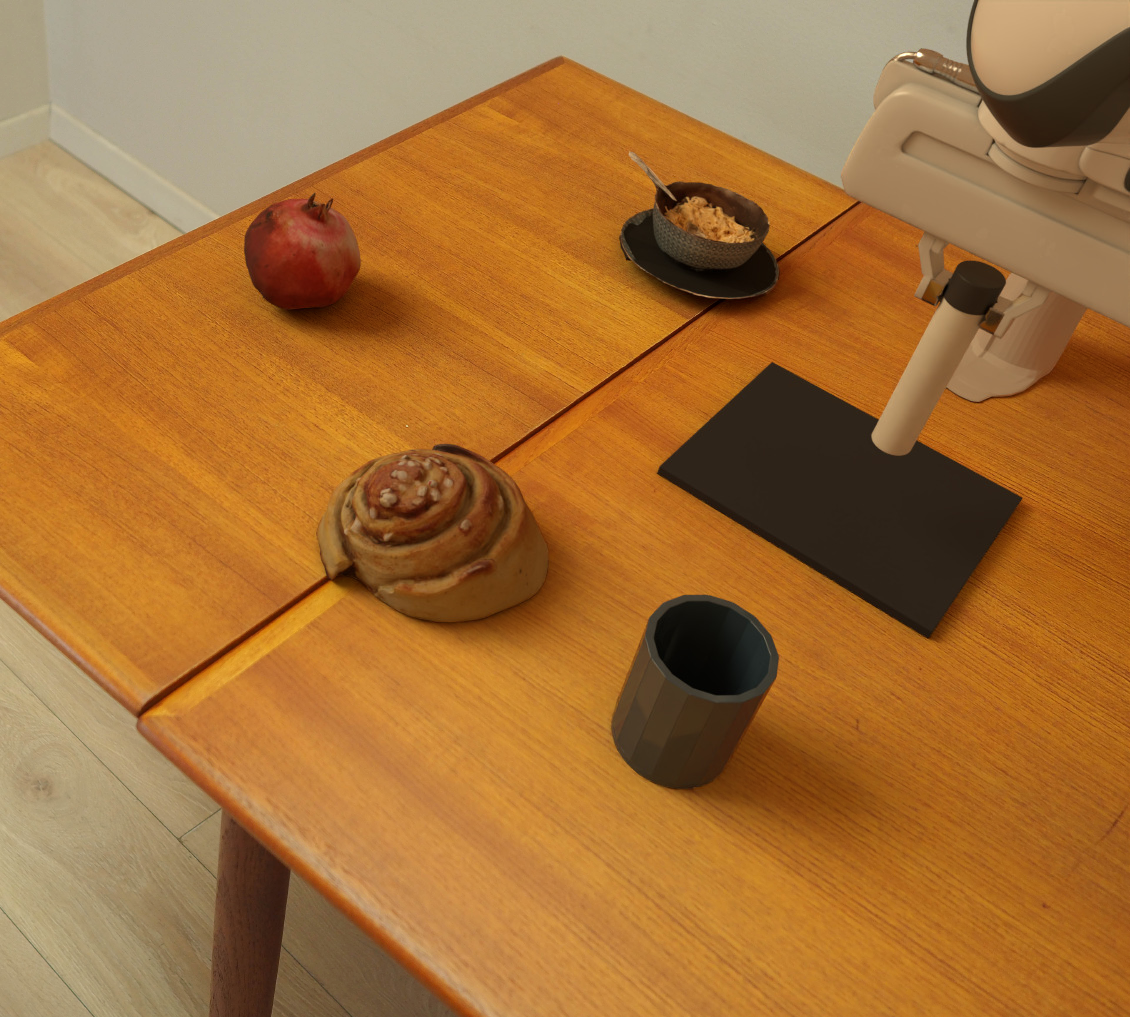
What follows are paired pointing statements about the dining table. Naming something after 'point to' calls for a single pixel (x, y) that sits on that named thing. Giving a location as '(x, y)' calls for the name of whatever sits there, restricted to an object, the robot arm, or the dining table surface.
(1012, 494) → the mat
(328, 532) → the pastry
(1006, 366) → the candle
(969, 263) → the marker
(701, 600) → the pen cup
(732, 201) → the soup bowl
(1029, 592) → the dining table surface
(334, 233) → the fruit
